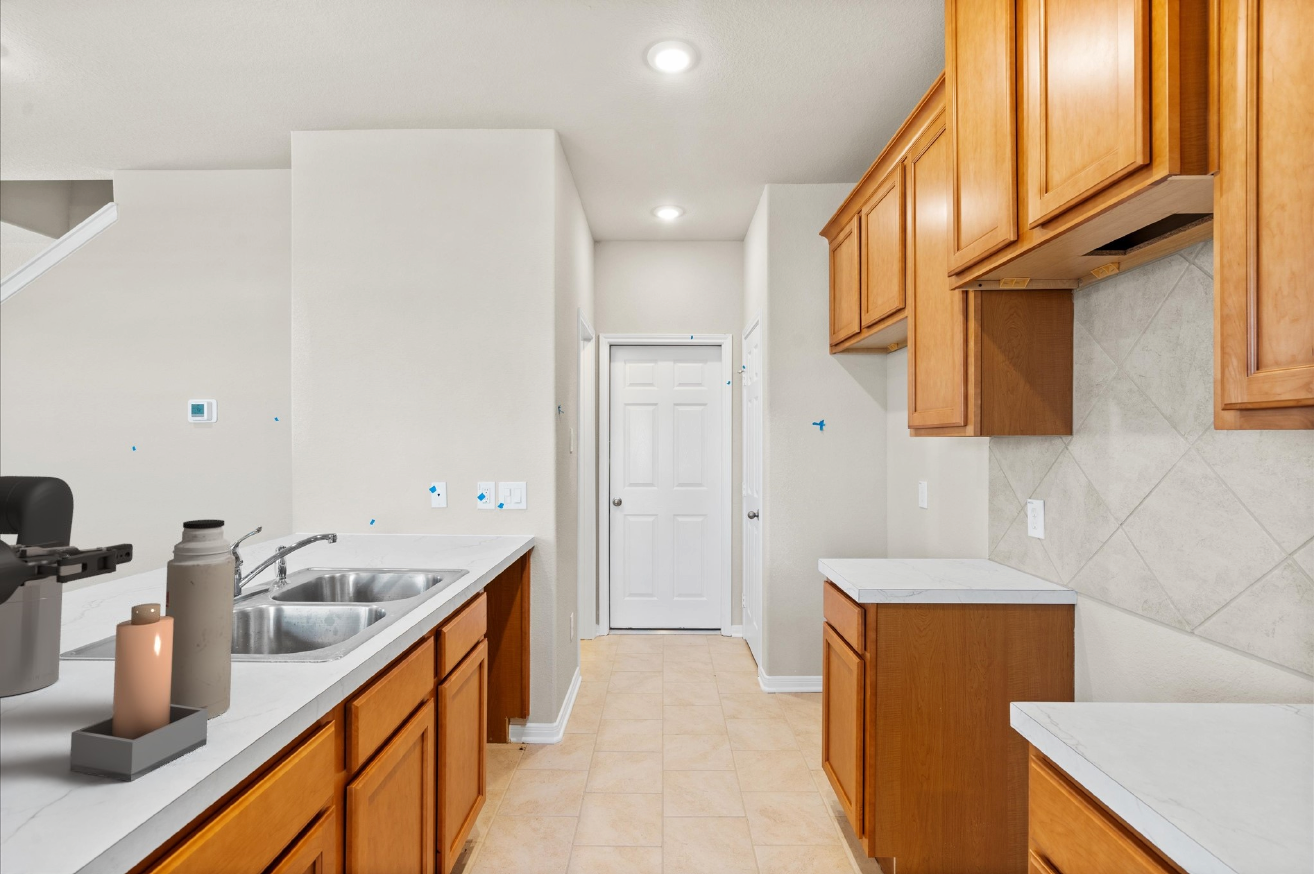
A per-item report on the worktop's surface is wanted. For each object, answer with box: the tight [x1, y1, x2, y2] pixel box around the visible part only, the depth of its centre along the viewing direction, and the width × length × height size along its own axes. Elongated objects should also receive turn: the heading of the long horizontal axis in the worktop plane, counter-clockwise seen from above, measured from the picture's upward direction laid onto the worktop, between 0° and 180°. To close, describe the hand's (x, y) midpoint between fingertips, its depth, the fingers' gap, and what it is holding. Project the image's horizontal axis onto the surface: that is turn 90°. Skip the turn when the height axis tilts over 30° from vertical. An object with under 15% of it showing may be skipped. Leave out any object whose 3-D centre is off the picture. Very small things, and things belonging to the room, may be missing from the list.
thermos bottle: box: [164, 519, 236, 721], centre depth 89 cm, size 8×8×28 cm
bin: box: [69, 704, 208, 782], centre depth 76 cm, size 9×9×4 cm
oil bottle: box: [112, 602, 174, 740], centre depth 76 cm, size 6×6×18 cm
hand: (95, 551), depth 73 cm, fingers open, 8 cm apart
